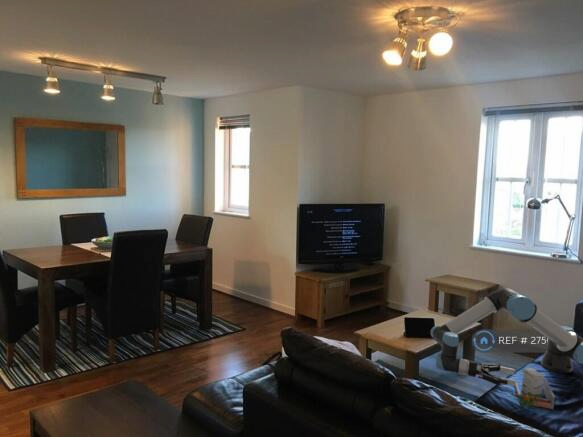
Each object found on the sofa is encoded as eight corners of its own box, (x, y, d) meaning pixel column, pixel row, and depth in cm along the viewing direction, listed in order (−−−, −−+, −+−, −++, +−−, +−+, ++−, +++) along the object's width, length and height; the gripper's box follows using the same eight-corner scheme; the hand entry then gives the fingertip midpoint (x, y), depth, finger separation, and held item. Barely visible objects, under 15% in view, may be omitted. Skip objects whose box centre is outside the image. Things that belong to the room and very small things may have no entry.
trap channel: (545, 390, 235) (546, 379, 234) (553, 409, 217) (554, 396, 216) (514, 384, 239) (515, 373, 238) (519, 402, 221) (521, 390, 220)
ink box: (541, 399, 225) (544, 375, 224) (532, 399, 225) (535, 376, 223) (529, 390, 234) (532, 367, 232) (520, 390, 233) (523, 367, 231)
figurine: (537, 412, 213) (539, 395, 212) (507, 404, 218) (509, 388, 217) (537, 409, 216) (539, 392, 214) (508, 401, 221) (510, 385, 220)
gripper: (468, 365, 251) (513, 374, 243) (466, 385, 228) (514, 396, 220) (470, 351, 250) (514, 360, 242) (467, 370, 227) (516, 380, 219)
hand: (514, 377), depth 231 cm, fingers open, 13 cm apart
